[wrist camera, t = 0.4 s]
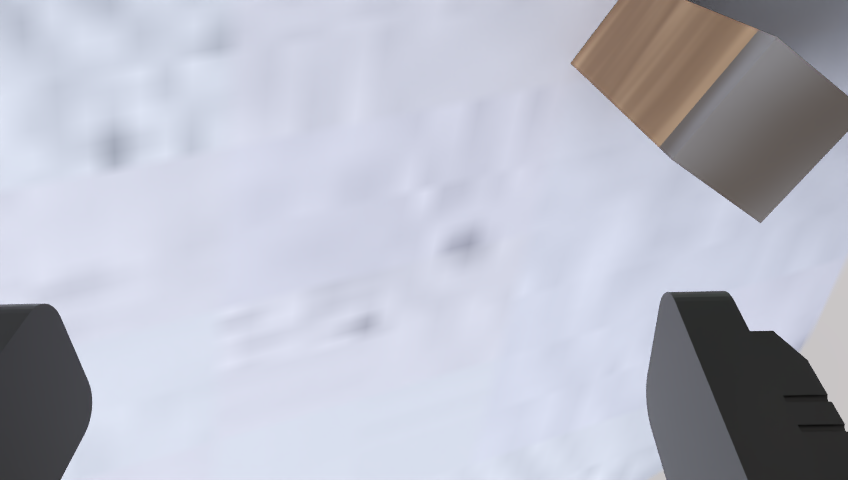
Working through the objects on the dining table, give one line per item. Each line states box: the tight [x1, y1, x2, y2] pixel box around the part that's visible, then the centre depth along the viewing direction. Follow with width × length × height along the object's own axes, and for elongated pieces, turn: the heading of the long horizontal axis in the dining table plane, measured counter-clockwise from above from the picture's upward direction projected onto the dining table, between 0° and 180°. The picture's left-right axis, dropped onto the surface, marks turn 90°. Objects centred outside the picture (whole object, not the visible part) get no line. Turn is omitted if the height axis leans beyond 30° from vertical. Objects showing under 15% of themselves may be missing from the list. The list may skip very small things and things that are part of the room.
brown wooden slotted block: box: [571, 0, 848, 223], centre depth 25 cm, size 4×4×11 cm
